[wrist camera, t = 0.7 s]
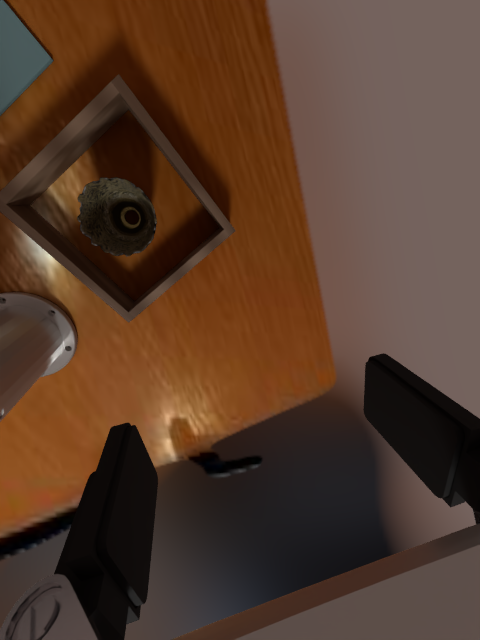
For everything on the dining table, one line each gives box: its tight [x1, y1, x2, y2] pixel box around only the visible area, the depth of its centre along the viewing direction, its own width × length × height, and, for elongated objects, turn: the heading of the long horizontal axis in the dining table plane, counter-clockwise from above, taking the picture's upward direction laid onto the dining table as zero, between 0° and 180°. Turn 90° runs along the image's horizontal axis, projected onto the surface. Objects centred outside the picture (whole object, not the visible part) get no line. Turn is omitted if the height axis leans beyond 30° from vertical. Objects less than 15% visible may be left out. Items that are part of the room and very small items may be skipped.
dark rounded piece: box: [77, 177, 157, 256], centre depth 29 cm, size 8×7×8 cm
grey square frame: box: [0, 74, 235, 322], centre depth 31 cm, size 18×18×4 cm
